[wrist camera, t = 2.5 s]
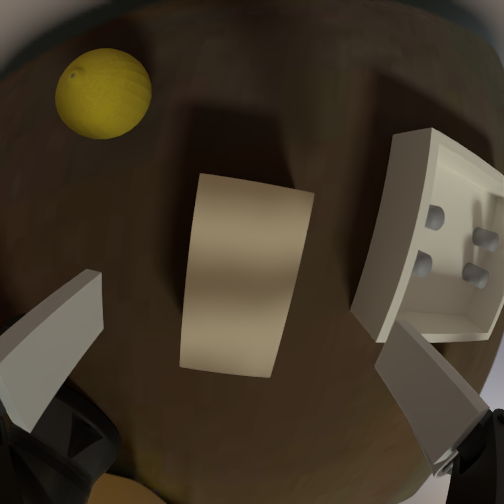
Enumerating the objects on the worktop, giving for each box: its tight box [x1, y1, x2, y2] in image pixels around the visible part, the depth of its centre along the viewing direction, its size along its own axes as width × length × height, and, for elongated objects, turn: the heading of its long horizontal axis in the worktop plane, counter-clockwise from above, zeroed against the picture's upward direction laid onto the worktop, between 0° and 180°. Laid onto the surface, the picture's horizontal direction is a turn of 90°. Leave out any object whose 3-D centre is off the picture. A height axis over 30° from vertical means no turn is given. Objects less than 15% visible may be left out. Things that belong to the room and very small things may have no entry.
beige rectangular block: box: [180, 173, 315, 378], centre depth 18 cm, size 12×6×5 cm, turn 170°
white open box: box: [350, 128, 504, 343], centre depth 18 cm, size 16×15×5 cm
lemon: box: [55, 48, 152, 139], centre depth 12 cm, size 6×6×8 cm
